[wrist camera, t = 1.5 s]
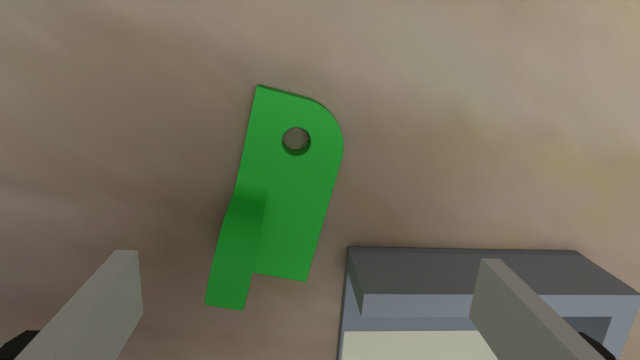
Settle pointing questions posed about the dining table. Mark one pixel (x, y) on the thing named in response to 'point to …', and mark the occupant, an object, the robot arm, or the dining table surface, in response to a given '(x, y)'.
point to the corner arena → (467, 300)
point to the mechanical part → (276, 197)
